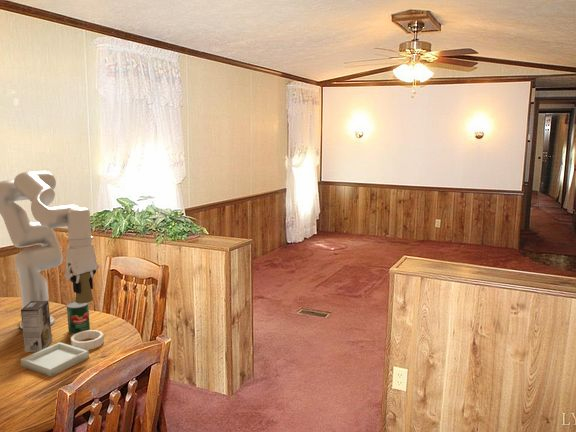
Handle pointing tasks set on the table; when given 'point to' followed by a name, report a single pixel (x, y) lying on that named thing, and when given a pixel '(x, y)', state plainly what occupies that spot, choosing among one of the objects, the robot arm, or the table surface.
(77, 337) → the collar
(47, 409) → the table surface
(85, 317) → the canned tomato
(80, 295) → the cork
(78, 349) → the tray
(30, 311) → the coffee box
